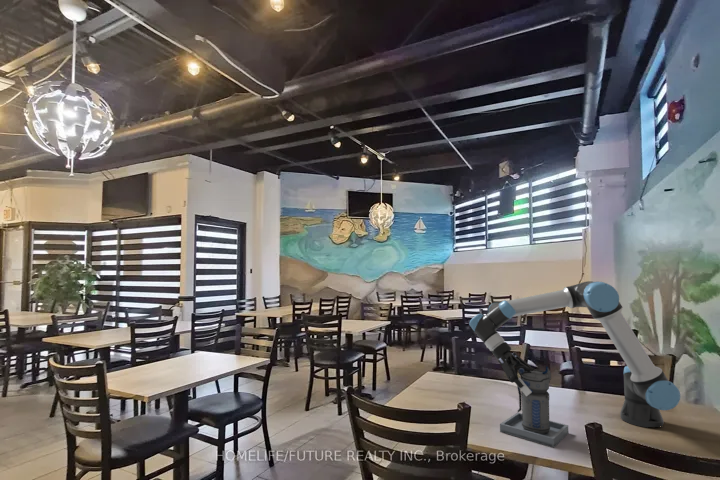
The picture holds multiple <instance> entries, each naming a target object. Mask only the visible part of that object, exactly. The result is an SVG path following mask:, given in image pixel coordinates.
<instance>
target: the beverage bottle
mask: <svg viewBox="0 0 720 480" xmlns="http://www.w3.org/2000/svg"><path fill="white" fill-rule="evenodd" d="M514 368H515V371H516V373H517V376H518V377H519V376H520V378H521V380H522V381H523V382H524V383H525V384H526V386H527V387H528V388H529V389H530V390H531V391H532V393H530V394H529V395H528V396H525V394H524V393H523V392H522V391H521V389H520V388H519V387H518V386H517V385H516V387H517V392H518V400H519V401H518V404H519V409H518V410H517V413H520V412H521V413H522V426H523V428H524V429H525V430H527V431H530V432H534V433H538V434H545V433H548V432H549V430H550V425H549V421H550V393H549V392H548V390H549V389H550V382H551V380H552V373H551V370H550V367H549V366H545V370H542V369H535V368H533V367H532V368H526V367H525V366H518V367H514ZM524 369H526V370H527V371H526V372H525V371H524ZM531 370H532V371H531ZM518 374H519V375H518Z"/></svg>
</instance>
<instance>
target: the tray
mask: <svg viewBox="0 0 720 480" xmlns="http://www.w3.org/2000/svg"><path fill="white" fill-rule="evenodd" d="M549 425H550V430H549V432H548V433H545V434H538V433H534V432H530V431H527V430H525V429H524V428H523V426H522V412H521V413H520V412H516V413H514V414H513V415H511V416H510V417H509V418H507V419H505V420H504V421H502V422H501V423H499V432H500V433H502V434H506V435H511V436H513V437H517V438H520V439H523V440H527V441H530V442H533V443H537V444H540V445H543V446H546V447H550V448H552V449H553V448H555V447H556V446H557V445H558V444H559V443H560V442H562V440H563V439H564V438H566V436H567V435H568V434H569V424H564V423H561V422H557V421H554V420H549Z"/></svg>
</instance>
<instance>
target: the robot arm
mask: <svg viewBox="0 0 720 480" xmlns="http://www.w3.org/2000/svg"><path fill="white" fill-rule="evenodd" d="M566 307H567V308H570V309H574V308H586V309H587V310H588V311H589V313H590V315H591V317H592V318H593V320H597V321H599V323H601V325H602V327H603V329H604V330H605V332H606V334H607V335H608V337H609V338H610V340H611V342H612V343H613V345H614V346H615V348H616V350H617V351H618V353H619V355H620V357H621V358H622V360H623V361H624V363H625V365H626V366H624V368H623V388H624V390H623V392H624V402H623V404H622V407H621V410H620V412H619V414H620V419H621V420H622V421H624V422H626V423H628V424H631V425H634V426H637V427H643V428H648V427H660V426H663V424H664V418H663V416H662V414H661V411H670V410H672V409H674V408H675V407H677V406H678V405H679V402H680V400H681V392H680V389H679V388H678V386H677V385H675V383H673V382H672V381H669V379H668V377H667V375H666V374H665V373H664V371H663V369H662V368H661V367H659V366H655V365H654V363H653V361H652V359H651V358H650V357H649V354H648V353H647V352H646V350H645V348H644V347H643V344H642V343H641V341H640V340H639V338H637V335H636V334H635V333H634V331H633V329H632V328H631V326H630V324H629V323H628V321H627V319H626V318H625V316H624V314H623V313H622V310H623V305H622V304H621V302H620V295H619V292H618V291H617V290H616V288H615V287H614V286H613V285H611V284H609V283H607V282H603V281H589V280H588V281H583V282H580V283H577V284H573V285H569V286H564V288H563V289H561V290H557V291H551V292H545V293H540V294H535V295H530V296H525V297H521V298H514V299H510V300H505V299H504V300H502V301H500V302H498V301H496V302H492V303H491V304H490V305H489V306H488V312H487V313H486V314H485V315H484V314H482V313H477V314H476V315H474V316H473V317H472V318H471V319H470V320H469V323H468V324H469V327H470V328H471V329H472V331H473V332H474V333H475V334H476V336H477V337H478V338H479V339H480V340H481V342H482V343H483V344H484V345H485V346H486V349H488V350H489V351H490V352H491V353H492V355H493V356H494V357H495V359H497V361H498V363H499V364H500V366H501V368H502V369H503V372H504V373H505V375H506V377H507V379H508V381H509V382H510V383H511V384H513V383H514V384H515V385H516V387H517V386H518V387H519V388H520V391H522V392H523V393H524V394H525V396H528V395H529V394H530V393H532V391H531V390H530V389H529V388H528V387H527V386H526V384H525V383H524V382H523V381H522V380H521V377H519V375H518V372H517V373H516V371H515V368H516V367H518V366H525V367H526V368H533V367H532V366H531V365H530V364H529V363H528V362H526V361H525V360H524V359H522V358H521V357H520V356H519V355H518V354H517V353H516V352H511V350H512V347H511V346H510V345H509V344H508V343H507V342H506V341H505V339H504V338H503V337H502V335H501V334H500V333H499V332H498V331H497V330H498V329H500V327H501V326H503V325H504V324H505V323H507V322H508V321H509V320H511V319H512V318H514V317H517V316H524V315H529V314H535V313H539V312H544V311H545V312H546V311H551V310H557V309H562V308H566ZM524 371H525V372H526V371H527V370H526V369H524ZM531 371H532V370H531ZM517 375H518V376H517ZM663 427H664V426H663Z"/></svg>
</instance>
